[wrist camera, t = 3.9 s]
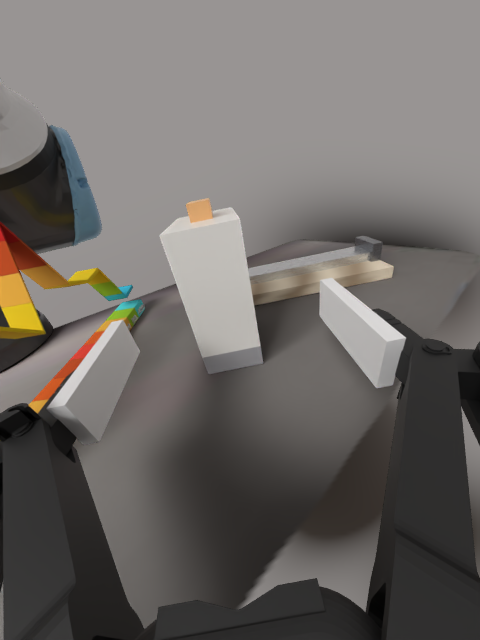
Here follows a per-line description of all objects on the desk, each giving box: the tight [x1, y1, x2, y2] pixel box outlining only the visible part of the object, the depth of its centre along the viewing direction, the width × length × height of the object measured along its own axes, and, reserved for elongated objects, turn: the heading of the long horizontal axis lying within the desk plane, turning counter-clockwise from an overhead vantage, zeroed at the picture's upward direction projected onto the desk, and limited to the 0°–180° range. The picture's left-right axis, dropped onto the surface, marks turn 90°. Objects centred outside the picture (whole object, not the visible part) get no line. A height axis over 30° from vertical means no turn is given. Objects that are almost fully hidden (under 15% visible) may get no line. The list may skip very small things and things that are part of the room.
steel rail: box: [248, 236, 383, 285], centre depth 32 cm, size 22×4×2 cm, turn 96°
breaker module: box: [159, 198, 263, 374], centre depth 20 cm, size 5×8×13 cm, turn 6°
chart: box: [0, 222, 145, 414], centre depth 18 cm, size 30×3×15 cm, turn 1°
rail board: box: [251, 260, 394, 306], centre depth 33 cm, size 22×10×2 cm, turn 96°
